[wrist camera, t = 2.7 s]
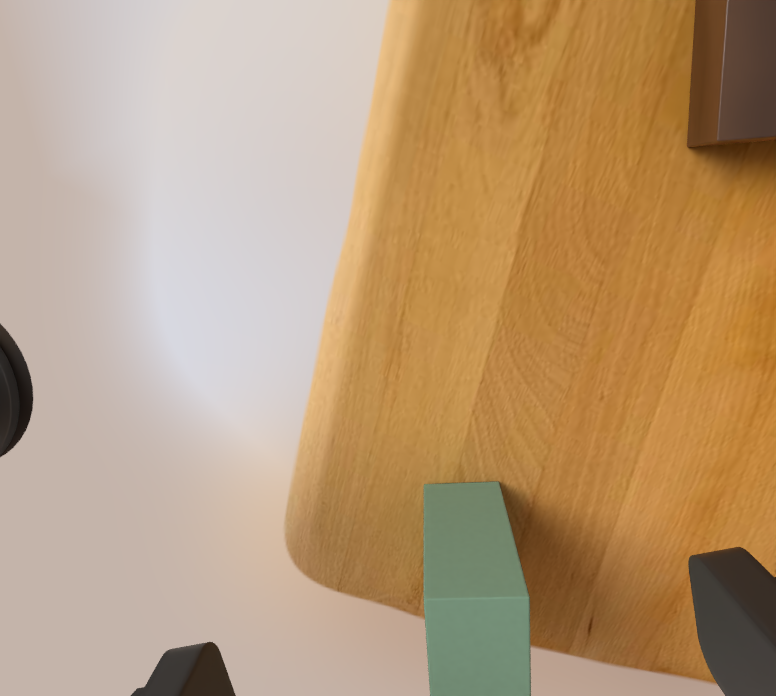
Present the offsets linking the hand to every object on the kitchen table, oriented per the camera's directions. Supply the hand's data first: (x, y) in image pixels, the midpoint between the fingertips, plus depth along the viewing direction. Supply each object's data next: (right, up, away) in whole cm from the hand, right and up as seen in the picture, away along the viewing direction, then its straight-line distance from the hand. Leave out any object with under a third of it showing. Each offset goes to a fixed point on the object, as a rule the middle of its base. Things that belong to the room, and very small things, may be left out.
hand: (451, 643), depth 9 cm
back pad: (+4, -6, +25) cm, 26 cm away
